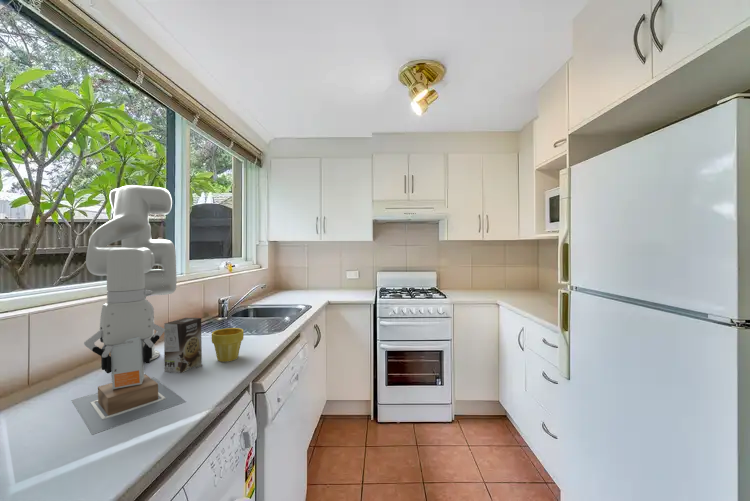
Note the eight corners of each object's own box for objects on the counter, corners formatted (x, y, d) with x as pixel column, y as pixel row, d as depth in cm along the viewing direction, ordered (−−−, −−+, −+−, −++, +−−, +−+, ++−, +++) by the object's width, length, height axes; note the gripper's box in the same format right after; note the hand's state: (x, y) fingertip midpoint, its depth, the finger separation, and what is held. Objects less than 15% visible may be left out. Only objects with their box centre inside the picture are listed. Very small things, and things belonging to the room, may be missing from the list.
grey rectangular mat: (71, 404, 82) (71, 399, 82) (153, 380, 96) (153, 376, 96) (92, 439, 67) (92, 433, 67) (186, 405, 81) (186, 400, 81)
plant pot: (249, 354, 118) (249, 328, 118) (232, 364, 108) (232, 335, 108) (224, 353, 120) (223, 326, 120) (205, 363, 110) (204, 334, 110)
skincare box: (112, 390, 78) (108, 342, 78) (116, 383, 82) (113, 337, 81) (142, 384, 81) (139, 337, 80) (145, 378, 85) (142, 333, 84)
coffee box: (181, 376, 99) (180, 324, 99) (163, 374, 100) (162, 323, 100) (202, 365, 108) (202, 317, 108) (186, 364, 109) (185, 316, 109)
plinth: (98, 402, 81) (97, 386, 80) (145, 388, 88) (145, 374, 88) (108, 415, 74) (107, 398, 74) (158, 399, 82) (158, 383, 82)
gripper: (160, 291, 90) (162, 354, 90) (76, 300, 77) (78, 374, 77) (171, 294, 85) (172, 360, 86) (83, 303, 72) (85, 382, 72)
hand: (127, 366), depth 81 cm, fingers open, 7 cm apart
